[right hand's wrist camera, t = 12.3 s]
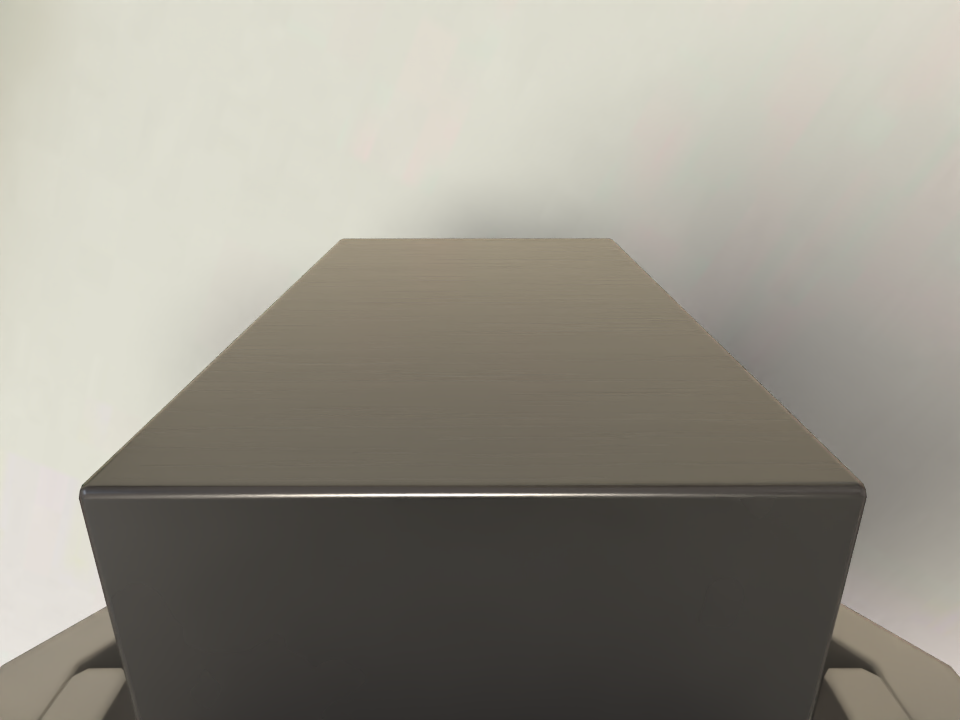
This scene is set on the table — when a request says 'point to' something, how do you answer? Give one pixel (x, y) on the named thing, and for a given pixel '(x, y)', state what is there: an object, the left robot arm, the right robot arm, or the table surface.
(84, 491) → the bar
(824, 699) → the right robot arm
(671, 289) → the table surface
